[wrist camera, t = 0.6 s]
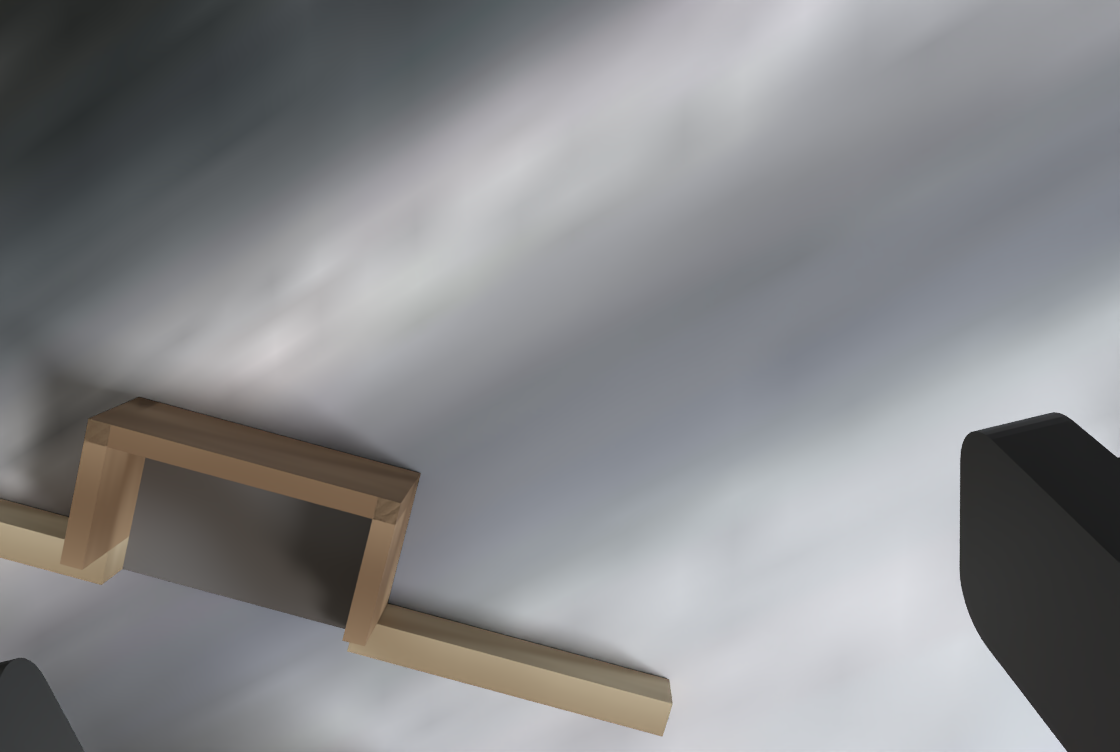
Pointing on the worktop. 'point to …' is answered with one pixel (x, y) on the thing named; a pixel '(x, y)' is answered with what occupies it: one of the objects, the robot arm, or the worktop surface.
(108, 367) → the worktop surface
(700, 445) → the worktop surface
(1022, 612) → the robot arm
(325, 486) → the trap lane
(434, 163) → the worktop surface
